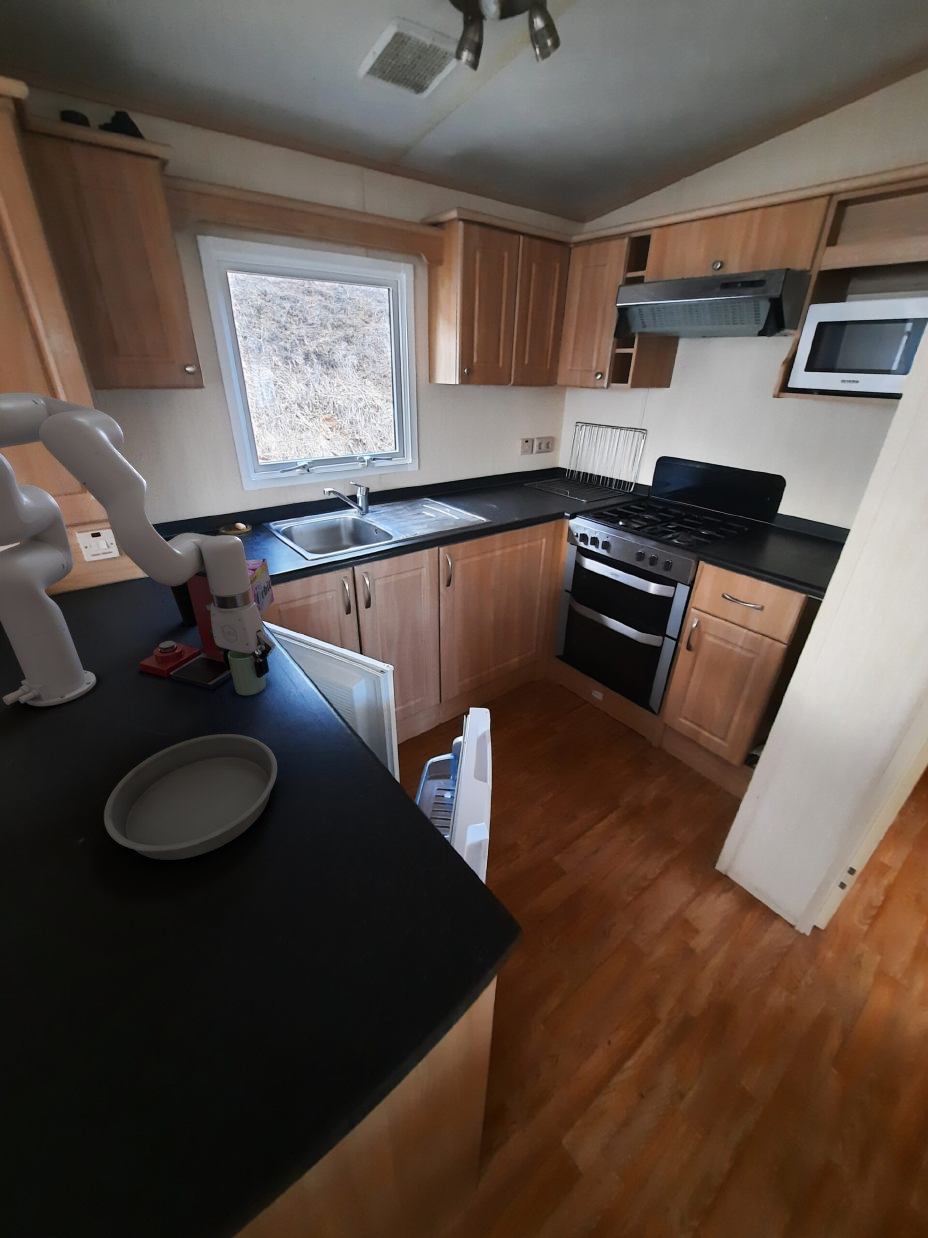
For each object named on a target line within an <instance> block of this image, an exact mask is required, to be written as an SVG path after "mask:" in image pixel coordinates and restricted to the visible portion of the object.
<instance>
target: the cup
mask: <svg viewBox="0 0 928 1238" xmlns="http://www.w3.org/2000/svg"><path fill="white" fill-rule="evenodd" d="M256 651H257V652H258V654H259V655H260V654H261V652H260V650H259V649H257V650H256ZM228 659H229V664H230V668H231V673H232V676H231V677H232V682H233V686H234V690H235V692H236V694H238V695H241V696H252V695H256V694H259V693H260V692H262V691H264V690H265V688H266V687H267V681H266V680H267V679H266V674H265V675H264V676H262V677H261V678H257V675H256V670H255V665H254V662H255V661H256V660H255V658H254V657H253V655H252V654H251V653H249V654H248V653H243V652H238V651H234V650H230V651H229V653H228Z"/></svg>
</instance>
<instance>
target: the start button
mask: <svg viewBox="0 0 928 1238" xmlns="http://www.w3.org/2000/svg"><path fill="white" fill-rule="evenodd" d="M175 643H176V642H175V641H174V640H166V641H163V642H160V644H159V645H158V647H160V650H161V653H163V654H164V653H170V652H173V651H175V650H176V645H175Z"/></svg>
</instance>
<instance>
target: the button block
mask: <svg viewBox="0 0 928 1238" xmlns="http://www.w3.org/2000/svg"><path fill="white" fill-rule="evenodd" d="M175 645H176V650H175V651H173V652H170V653H164V654H163V653H161V650H160V647H159V646H158V647H155V648H154V650H153V652H152V653H153V655H150V656H149V657H147V658H145V659H144V660H142V661H140V662H138V664H139V667H140V671H142V672H145V673H150V674H152V675H155V676H156V675H157V676H160V677H165V678H169V677H171V676H170V673H171V672H173V671H174V670H176V669H178V668H179V667H181V666H183V665H184V664H186V663H188V662H189V661H191V660H193V659H194V658H196V657H198V656H199V655H201V654H202V653H201V652H202V651H201V649H200V648H197V647H192V646H188V645H184V644H182V643H179V642H175Z"/></svg>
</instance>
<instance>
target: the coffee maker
mask: <svg viewBox="0 0 928 1238" xmlns="http://www.w3.org/2000/svg"><path fill="white" fill-rule="evenodd" d="M187 585H188V589H189V593H190V597H191V601H192V605H193V609H194V613H195V618H196V622H197V624H196V625H197V629H198V634H199V638H200V643H201V645H202V651H203V652H202V653H201V655H199V656H198V657H196V658H194V659H193V660H191V661H189V662H188V663H186V664H184V665H183V666H181V667H179V668H178V669H176V670H174V671H173V672H171V673H170V676H169V677H170V679H172V680H175V681H180V682H182V683H186V684H190V685H194V686H198V687H200V688H201V687H202V688H204V689H209V690H214V689H216V688H217V687H218V686H220V685H222V684H223V683H224V682H226V681H227V680H228V679H230V678H231V677H232V673H231V670H226V667H225V662H224V658H223V654H221V653H220V651H219V650H220V649H219V648H218V646H217V645H216V644H215V643H214V640H213V639H212V638H211V637H210V635H209V632H211V631H212V624H211V603H212V602H213V600H212V596H211V594H210V587H209V582H208V578H207V574H206V569H203V570H201V571H199V572H197V573H196V574H195V575H193V576H192V577H191V578H190V579H189V580H188V581H187Z"/></svg>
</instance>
